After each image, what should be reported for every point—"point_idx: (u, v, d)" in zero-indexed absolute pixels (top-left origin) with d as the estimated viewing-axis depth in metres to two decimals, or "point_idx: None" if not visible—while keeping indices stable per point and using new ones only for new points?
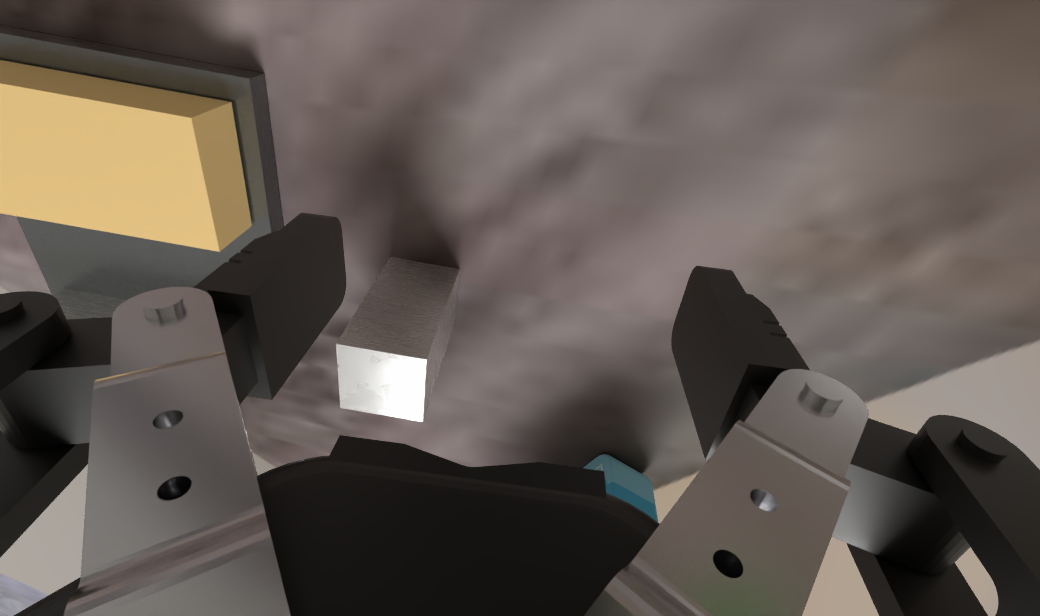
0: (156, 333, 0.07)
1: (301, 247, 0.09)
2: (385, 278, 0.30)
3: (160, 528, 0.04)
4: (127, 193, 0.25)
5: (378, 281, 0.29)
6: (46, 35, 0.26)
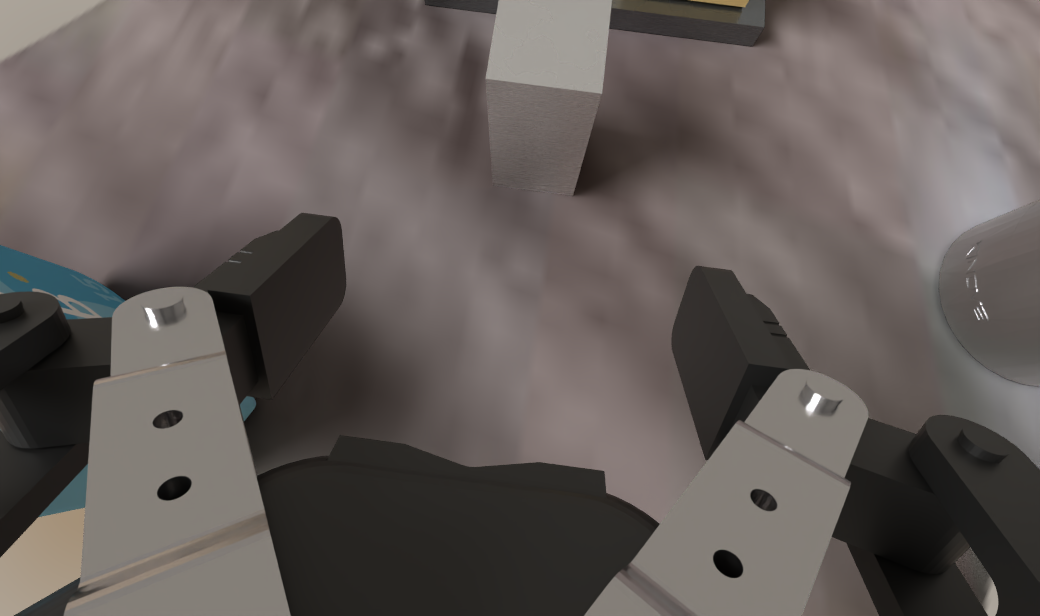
0: (156, 333, 0.07)
1: (301, 247, 0.09)
2: None
3: (159, 528, 0.04)
4: None
5: None
6: None
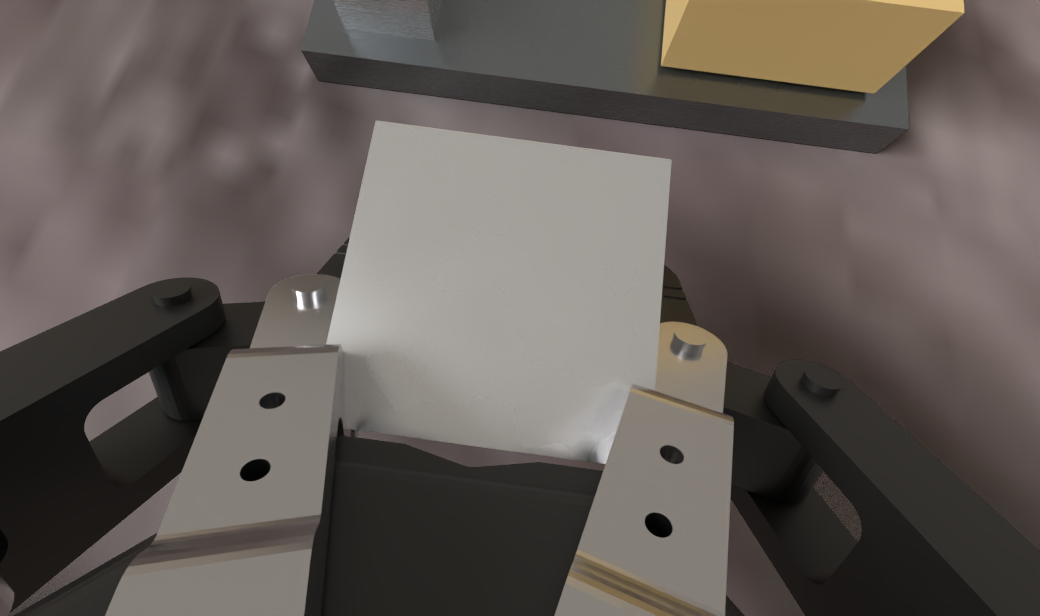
0: (312, 315, 0.07)
1: None
2: None
3: (231, 506, 0.04)
4: None
5: None
6: None
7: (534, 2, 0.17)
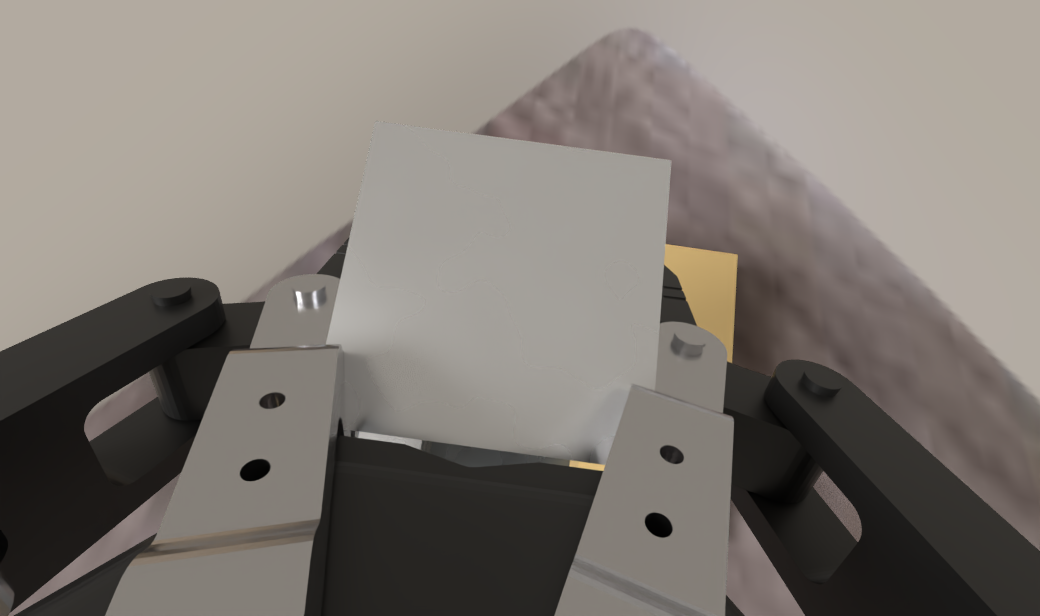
0: (312, 315, 0.07)
1: None
2: None
3: (231, 507, 0.04)
4: None
5: None
6: None
7: (488, 453, 0.27)
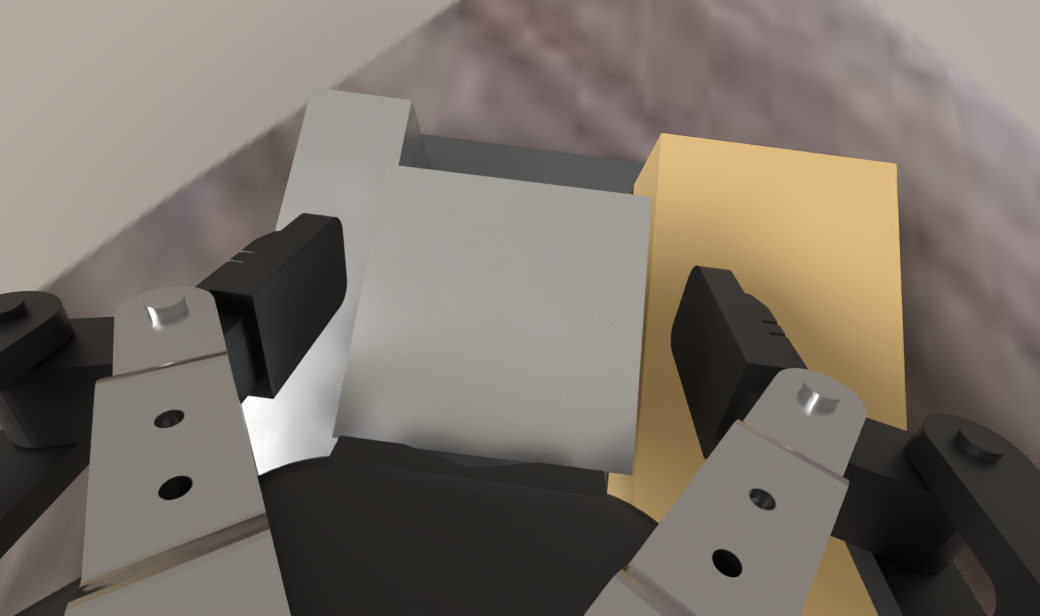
0: (158, 332, 0.07)
1: (303, 247, 0.09)
2: None
3: (161, 528, 0.04)
4: None
5: None
6: None
7: None
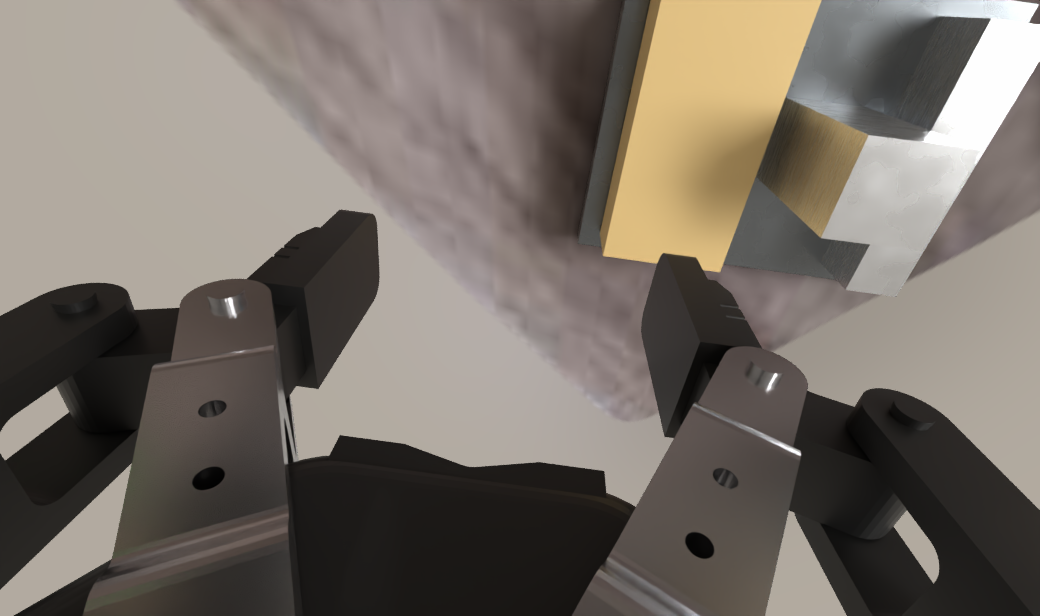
0: (224, 322, 0.07)
1: (345, 242, 0.10)
2: (774, 182, 0.28)
3: (191, 516, 0.04)
4: (734, 89, 0.24)
5: (775, 190, 0.27)
6: (591, 165, 0.31)
7: (860, 52, 0.26)
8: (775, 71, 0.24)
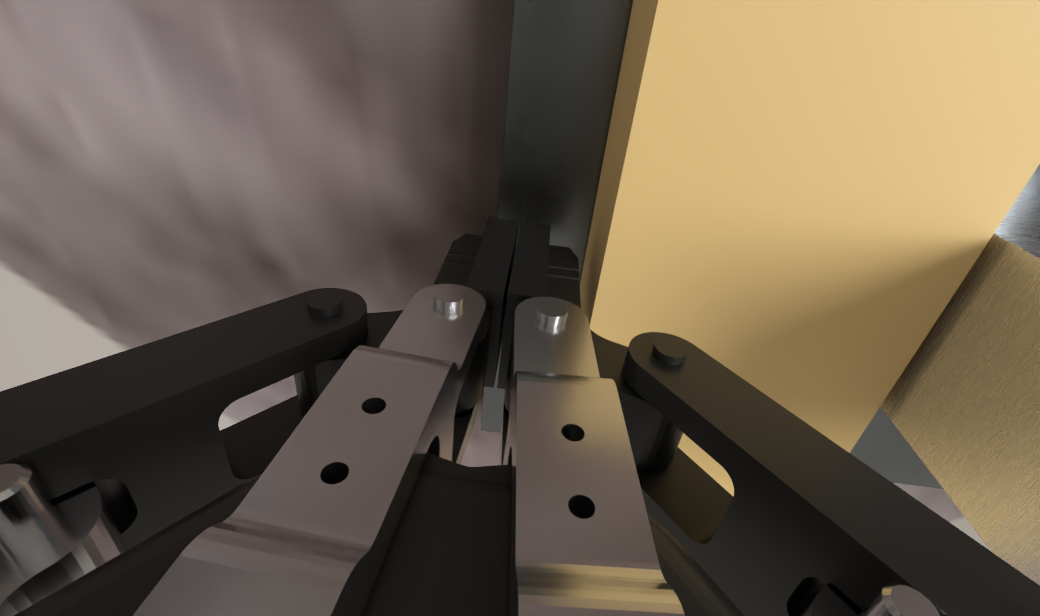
0: (460, 325, 0.08)
1: (512, 249, 0.10)
2: None
3: (302, 505, 0.04)
4: (866, 199, 0.09)
5: None
6: None
7: None
8: (988, 155, 0.09)
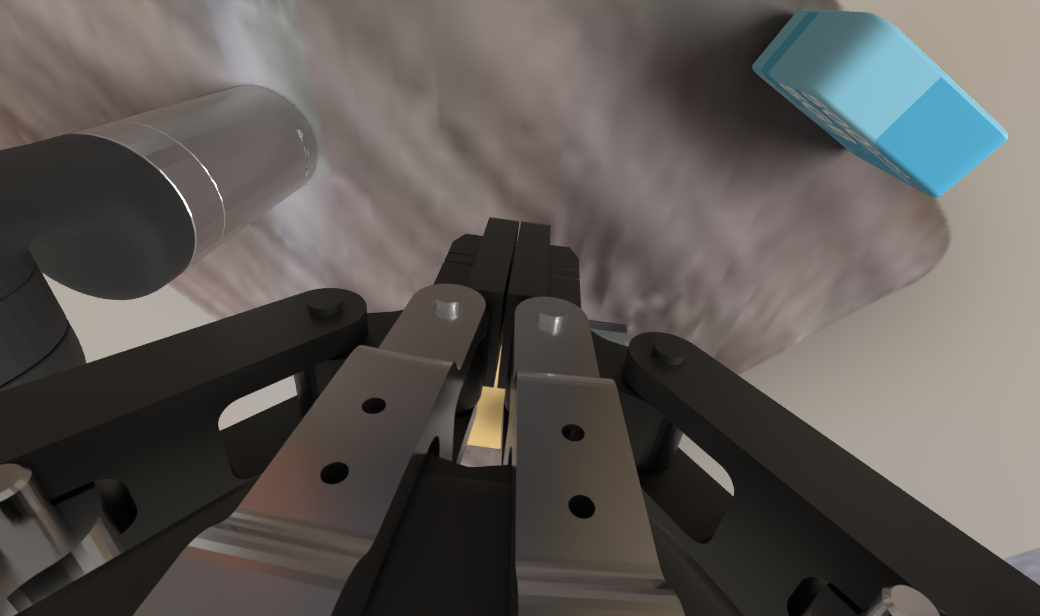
0: (460, 325, 0.08)
1: (512, 249, 0.10)
2: None
3: (301, 504, 0.04)
4: None
5: None
6: None
7: None
8: None
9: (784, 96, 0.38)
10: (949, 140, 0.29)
